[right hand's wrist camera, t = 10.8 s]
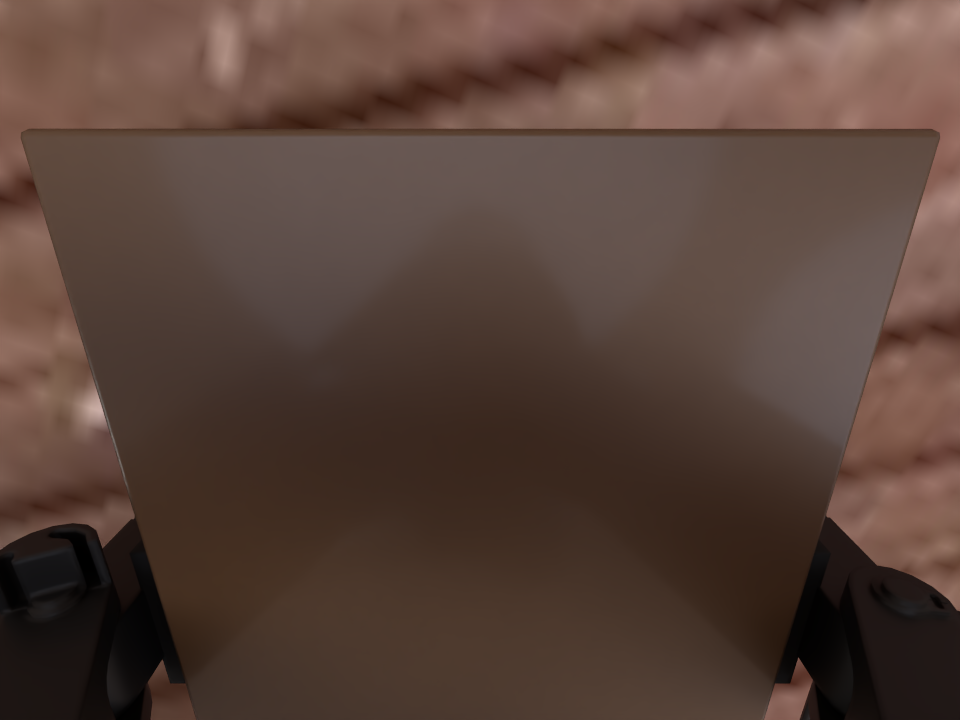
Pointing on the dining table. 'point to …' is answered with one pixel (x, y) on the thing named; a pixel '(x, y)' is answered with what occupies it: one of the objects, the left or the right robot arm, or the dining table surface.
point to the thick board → (480, 400)
